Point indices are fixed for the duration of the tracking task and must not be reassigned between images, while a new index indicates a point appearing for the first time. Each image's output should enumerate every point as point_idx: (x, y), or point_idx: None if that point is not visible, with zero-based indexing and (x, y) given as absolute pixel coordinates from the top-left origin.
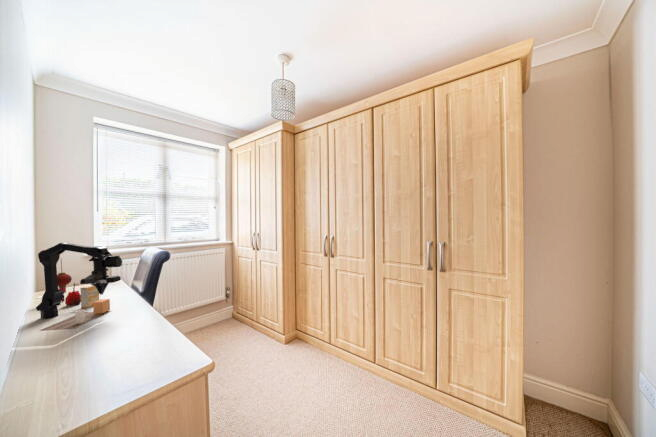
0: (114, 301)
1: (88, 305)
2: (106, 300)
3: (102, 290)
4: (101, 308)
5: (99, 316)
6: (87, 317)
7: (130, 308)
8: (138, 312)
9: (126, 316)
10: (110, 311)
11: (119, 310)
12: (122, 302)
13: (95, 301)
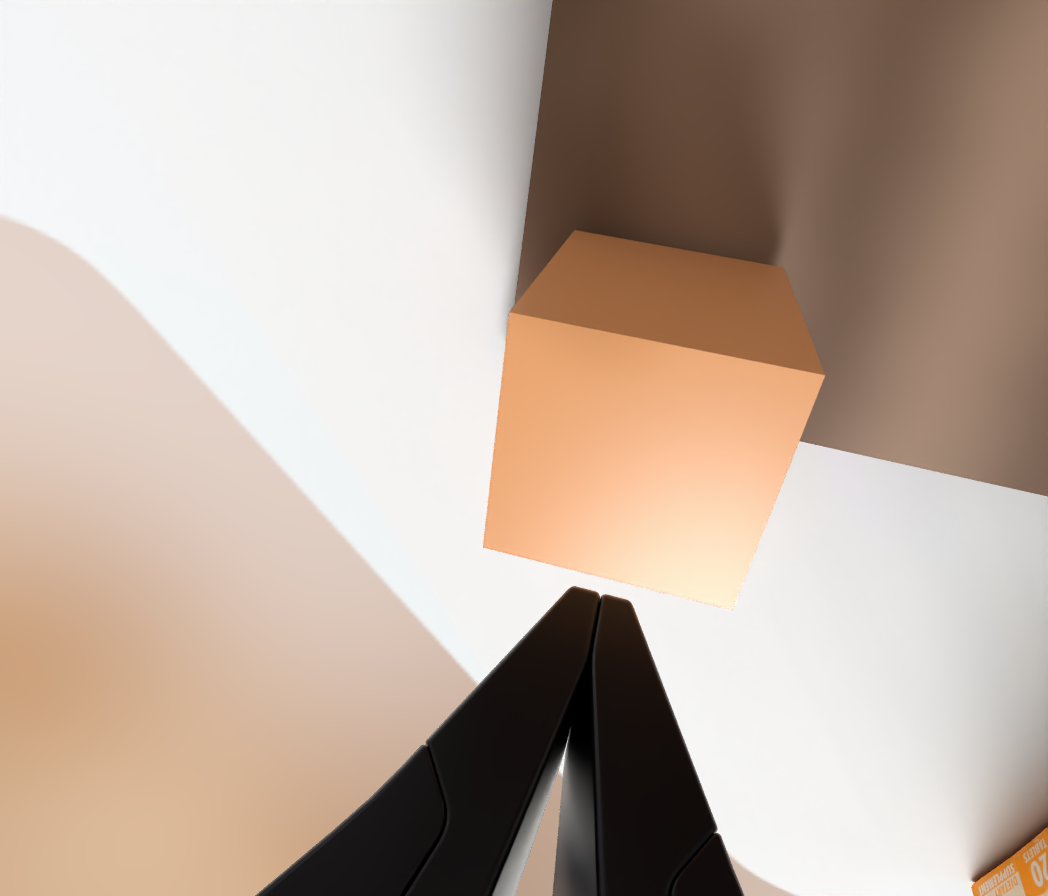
0: (766, 864)
1: None
2: (497, 453)
3: (469, 713)
4: (586, 263)
5: (563, 52)
6: (837, 59)
7: (321, 463)
8: (33, 194)
9: (72, 4)
10: None
11: (443, 430)
12: None
13: (784, 451)
